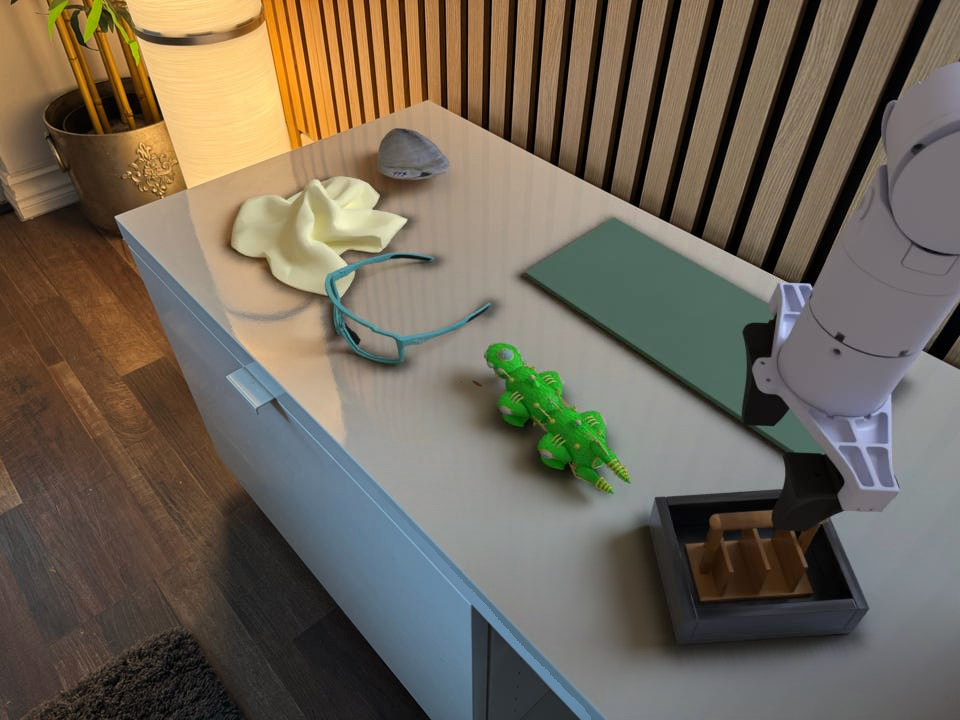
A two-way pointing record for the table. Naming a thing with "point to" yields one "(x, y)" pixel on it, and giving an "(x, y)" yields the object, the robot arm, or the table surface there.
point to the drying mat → (667, 315)
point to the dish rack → (749, 560)
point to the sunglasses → (353, 337)
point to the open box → (695, 622)
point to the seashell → (410, 156)
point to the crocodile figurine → (553, 417)
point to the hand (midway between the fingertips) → (772, 470)
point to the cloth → (314, 231)
